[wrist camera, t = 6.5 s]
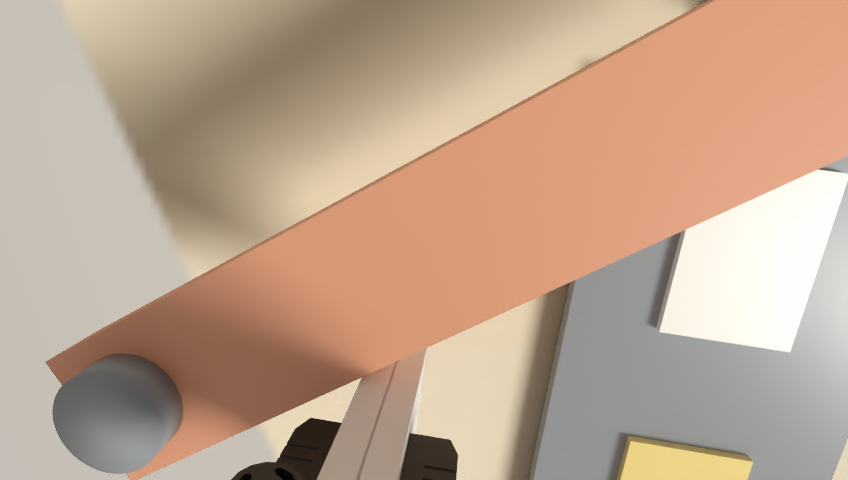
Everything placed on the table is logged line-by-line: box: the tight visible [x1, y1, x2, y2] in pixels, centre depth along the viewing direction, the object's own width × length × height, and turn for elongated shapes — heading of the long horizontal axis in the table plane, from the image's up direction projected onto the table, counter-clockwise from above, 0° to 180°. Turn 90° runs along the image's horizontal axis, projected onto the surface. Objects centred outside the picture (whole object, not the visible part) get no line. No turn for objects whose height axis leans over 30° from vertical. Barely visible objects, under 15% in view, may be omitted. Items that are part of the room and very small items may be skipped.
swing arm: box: [46, 0, 848, 480], centre depth 15 cm, size 26×4×10 cm, turn 118°
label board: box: [528, 156, 848, 480], centre depth 22 cm, size 24×12×1 cm, turn 173°
